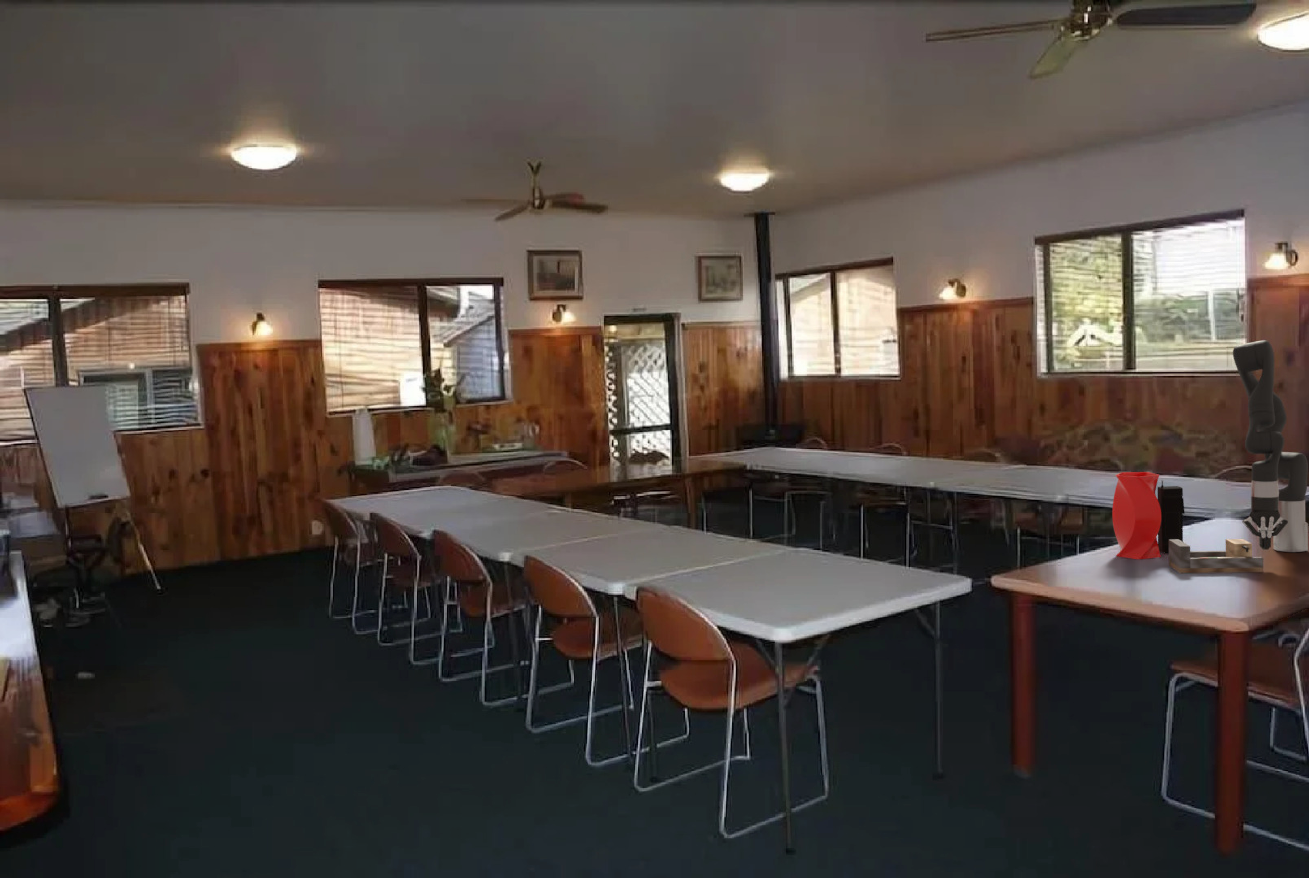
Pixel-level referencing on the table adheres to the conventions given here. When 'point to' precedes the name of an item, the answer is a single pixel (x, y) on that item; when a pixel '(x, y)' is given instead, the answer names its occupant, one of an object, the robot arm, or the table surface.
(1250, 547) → the block
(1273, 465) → the robot arm
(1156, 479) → the vase
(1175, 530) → the portable radio
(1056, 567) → the table surface
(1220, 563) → the grey piece
